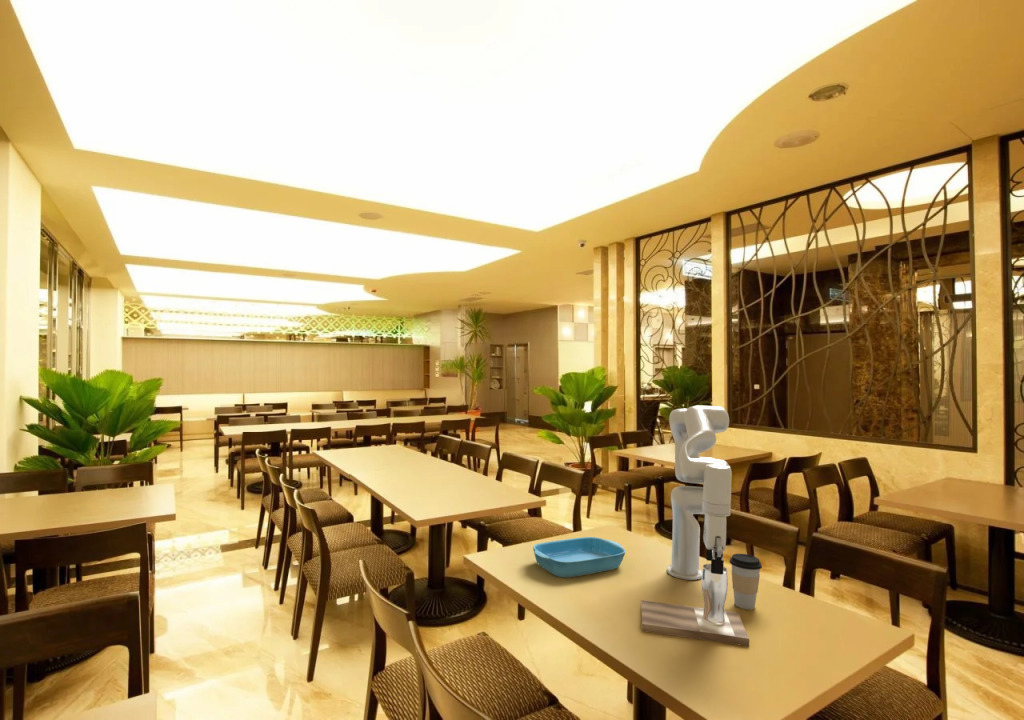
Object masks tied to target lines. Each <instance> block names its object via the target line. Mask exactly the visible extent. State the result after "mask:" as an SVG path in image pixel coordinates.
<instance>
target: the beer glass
mask: <svg viewBox="0 0 1024 720" xmlns="http://www.w3.org/2000/svg"><path fill="white" fill-rule="evenodd" d="M701 571H702V578H701V591H702V597H703V608H704V612H703V617H702V618H703V620H704V621H705V622H706V623H709V624H712V625H723V624H725V617H724V611H725V603H726V599H727V594H728V593H727V592H728V583H729V582H728V579H729V578H728V568H727V567H726V566H723V574H722V575H721V574H713V573H711V563H706V564H703V565H702V570H701Z"/></svg>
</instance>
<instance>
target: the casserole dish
mask: <svg viewBox="0 0 1024 720" xmlns="http://www.w3.org/2000/svg"><path fill="white" fill-rule="evenodd" d="M532 549H533V553H534V557H535V560H536V562H537V565H539V566H540V567H541V568H542V569H544V570H546V572H548V573H551V574H552V575H554V576H556V577H559V578H563V577H564V578H566V577H567V578H574V577H582V576H587V575H586V574H588V575H591V574H598V573H597V572H599V573H603V572H602V571H604V572H608V571H607V570H609V571H612V569H613V570H615V568H616V569H617V568H618V567H620V565H621V564H622V562H623V560H624V557H625V554H626V553H627V552H626V551H627V549H625V548H624V547H623V546H622V544H620V543H619V542H616V541H614V540H611V539H605V538H602V537H595V536H585V537H583V536H582V537H574V538H566V539H561V540H552V541H545V542H539V543H537V544H534V545H533V547H532ZM581 575H582V576H581Z"/></svg>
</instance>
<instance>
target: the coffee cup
mask: <svg viewBox="0 0 1024 720" xmlns="http://www.w3.org/2000/svg"><path fill="white" fill-rule="evenodd" d="M729 564H730V565H731V581H732V582H731V583H732V589H733V598H734V599H733V601H734V605H735V606H736V607H739V608H740V609H743V610H753V609H755V608H756V602H757V601H756V600H757V594H758V589H759V583H760V571H761V569H763V566H762V563H761V562H760V558H758V557H757V556H754V555H752V554H748V553H747V554H746V553H734V554H732V556H731V557H730V558H729Z"/></svg>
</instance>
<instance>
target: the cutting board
mask: <svg viewBox="0 0 1024 720" xmlns="http://www.w3.org/2000/svg"><path fill="white" fill-rule="evenodd" d="M703 612H704V607H698V606H692V605H691V606H690V605H682V604H674V603H666V602H659V601H651V600H644V599H641V600H640V614H641V618H640V619H641V620H642V621H641V632H646V631H648V632H647V633H653V632H655V633H654V634H662V635H668V636H675V637H681V638H682V637H683V638H688V639H696V640H697V639H698V640H704V641H711V642H716V641H717V643H725V644H730V643H731V644H730V645H737V644H740V645H739V646H744V645H747V646H746V647H749V646H750V637H749V635H748V633H747V630H746V628H745V626H744V624H743V623H744V622H742V619H741V617H740V614H739V612H736V611H729V610H724V617H725V624H723V625H712V624H709V623H706V622H705V621H704V620H703V618H702V617H703Z"/></svg>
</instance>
